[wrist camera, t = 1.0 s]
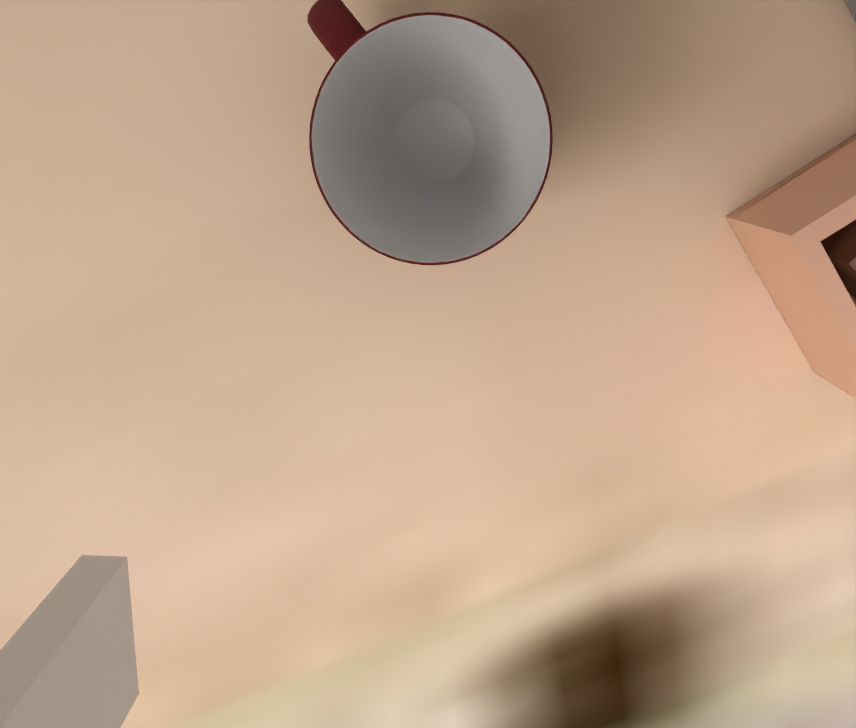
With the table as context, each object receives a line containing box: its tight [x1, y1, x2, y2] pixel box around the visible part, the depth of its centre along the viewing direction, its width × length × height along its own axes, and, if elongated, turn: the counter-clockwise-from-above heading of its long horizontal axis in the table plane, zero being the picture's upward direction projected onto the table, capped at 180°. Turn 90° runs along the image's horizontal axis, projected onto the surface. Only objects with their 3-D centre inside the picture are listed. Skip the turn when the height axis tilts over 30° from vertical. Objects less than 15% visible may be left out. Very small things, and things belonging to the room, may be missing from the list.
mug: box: [308, 0, 552, 265], centre depth 30 cm, size 10×8×10 cm
